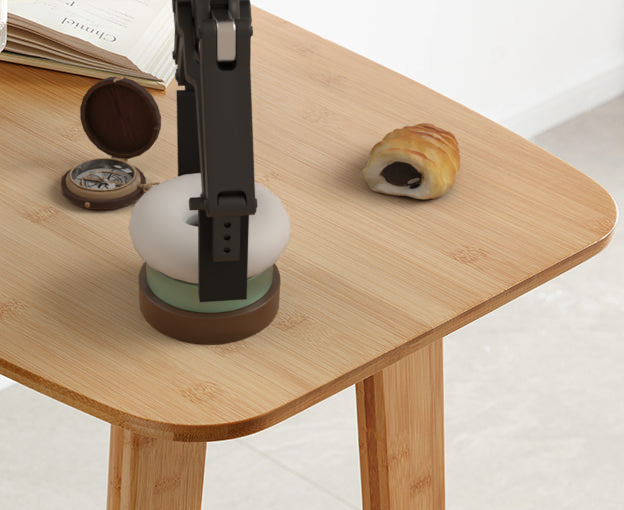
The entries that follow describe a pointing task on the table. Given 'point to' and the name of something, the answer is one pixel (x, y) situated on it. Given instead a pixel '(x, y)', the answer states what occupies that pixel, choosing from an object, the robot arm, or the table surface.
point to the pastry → (414, 162)
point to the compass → (114, 144)
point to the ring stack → (207, 308)
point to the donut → (184, 234)
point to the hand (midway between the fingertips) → (209, 235)
